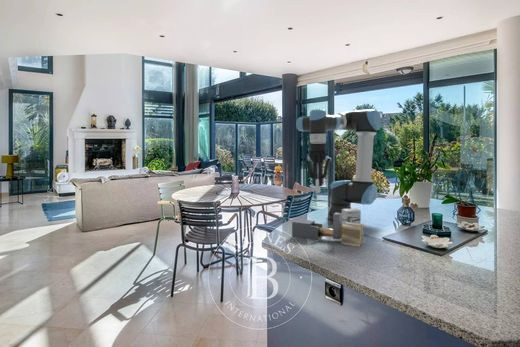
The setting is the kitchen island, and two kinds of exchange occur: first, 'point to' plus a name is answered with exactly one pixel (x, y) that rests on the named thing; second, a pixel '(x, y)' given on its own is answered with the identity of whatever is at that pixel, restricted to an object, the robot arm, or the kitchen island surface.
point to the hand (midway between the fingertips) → (318, 192)
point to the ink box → (351, 216)
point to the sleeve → (305, 229)
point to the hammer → (336, 230)
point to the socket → (352, 234)
